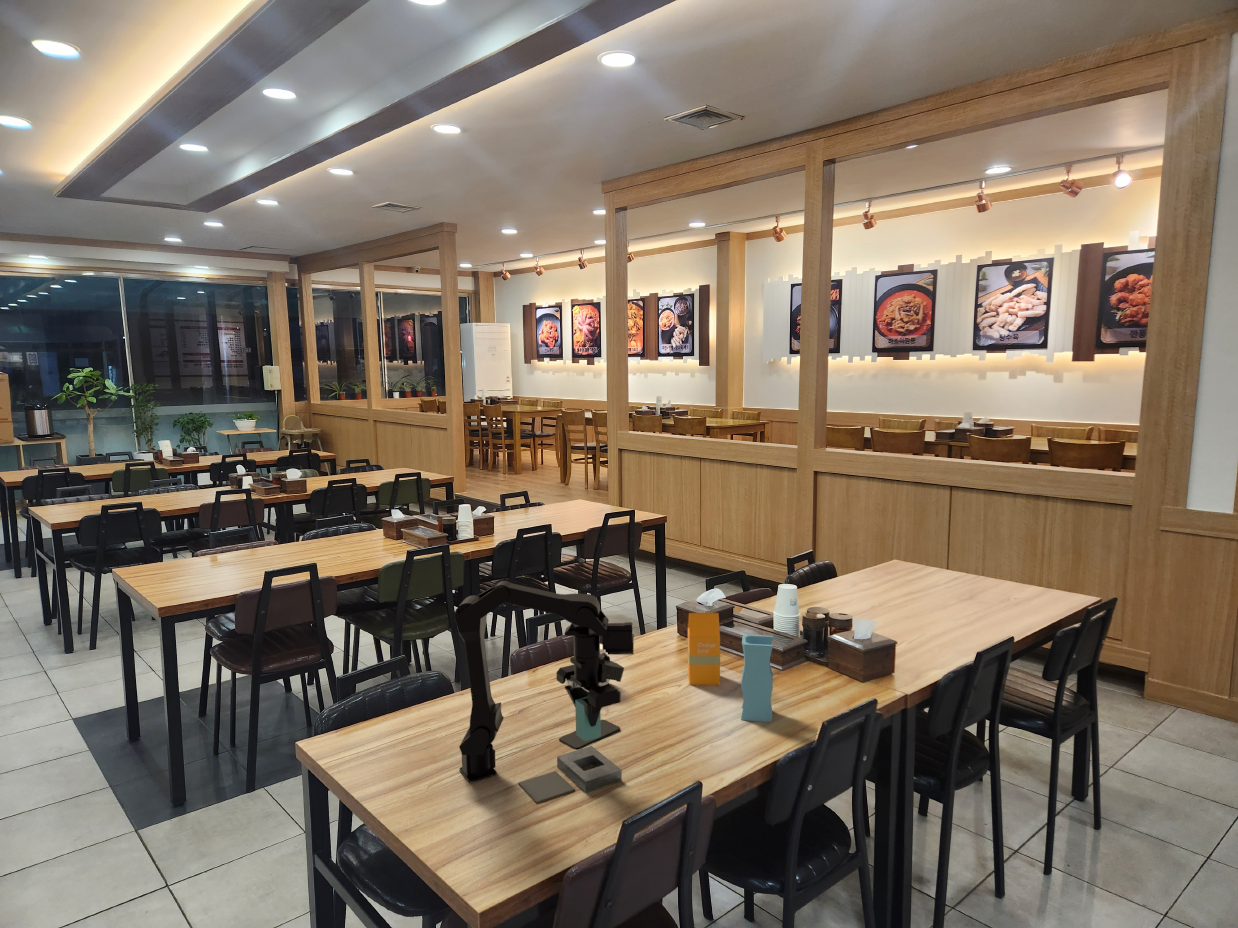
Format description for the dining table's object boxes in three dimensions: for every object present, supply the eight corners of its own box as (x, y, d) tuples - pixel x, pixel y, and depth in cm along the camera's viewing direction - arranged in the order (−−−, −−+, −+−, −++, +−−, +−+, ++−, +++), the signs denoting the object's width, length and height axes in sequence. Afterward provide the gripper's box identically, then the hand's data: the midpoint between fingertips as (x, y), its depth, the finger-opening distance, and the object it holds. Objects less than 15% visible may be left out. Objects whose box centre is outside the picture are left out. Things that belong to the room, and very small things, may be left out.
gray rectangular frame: (585, 792, 159) (585, 781, 159) (557, 766, 170) (557, 756, 170) (621, 780, 164) (621, 769, 164) (591, 755, 175) (591, 745, 175)
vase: (772, 722, 191) (773, 646, 189) (741, 719, 193) (741, 644, 191) (772, 709, 199) (773, 635, 197) (742, 706, 201) (742, 634, 198)
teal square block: (584, 741, 163) (584, 705, 163) (576, 734, 167) (575, 699, 166) (600, 736, 166) (600, 701, 165) (591, 729, 169) (591, 695, 168)
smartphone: (556, 738, 183) (602, 718, 193) (556, 741, 183) (602, 721, 193) (576, 748, 178) (622, 727, 188) (576, 752, 178) (622, 731, 188)
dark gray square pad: (536, 803, 155) (536, 801, 155) (518, 784, 163) (518, 782, 163) (574, 790, 160) (574, 788, 160) (555, 772, 168) (555, 770, 168)
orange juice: (720, 684, 215) (720, 616, 213) (689, 684, 216) (689, 617, 214) (717, 674, 223) (717, 608, 221) (687, 674, 223) (687, 608, 221)
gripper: (641, 659, 161) (642, 729, 162) (597, 635, 176) (598, 699, 178) (596, 670, 155) (597, 742, 156) (554, 644, 170) (556, 710, 172)
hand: (588, 722), depth 166 cm, fingers closed on teal square block, 4 cm apart
